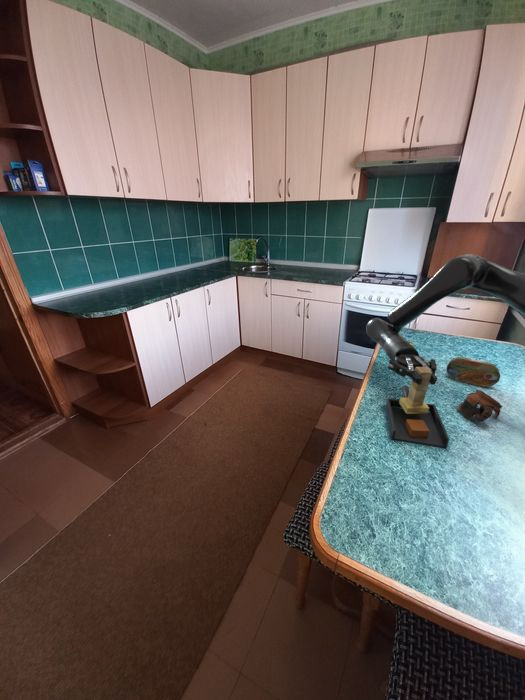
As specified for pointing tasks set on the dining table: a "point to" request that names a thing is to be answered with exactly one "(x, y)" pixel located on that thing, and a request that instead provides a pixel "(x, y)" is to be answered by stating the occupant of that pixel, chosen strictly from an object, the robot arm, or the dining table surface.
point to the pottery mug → (485, 409)
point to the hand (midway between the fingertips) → (427, 381)
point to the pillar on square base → (417, 394)
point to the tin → (473, 371)
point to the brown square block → (416, 428)
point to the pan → (431, 419)
